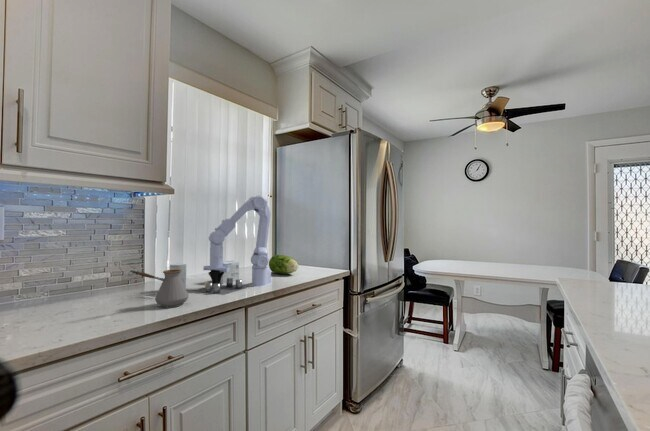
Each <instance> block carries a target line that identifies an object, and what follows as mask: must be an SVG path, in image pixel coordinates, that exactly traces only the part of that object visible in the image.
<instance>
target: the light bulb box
mask: <svg viewBox="0 0 650 431" xmlns="http://www.w3.org/2000/svg"><path fill="white" fill-rule="evenodd" d="M223 266H224V267H229V268H230V272H224V274H223V275H222V285H224V284H227V278H233V283H234V282H235V283H236V280H238V279H240V260H227V261H226V260H225V261H223Z"/></svg>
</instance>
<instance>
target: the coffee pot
mask: <svg viewBox="0 0 650 431" xmlns="http://www.w3.org/2000/svg"><path fill="white" fill-rule="evenodd" d="M181 271H182V270H170V269H166V270H164V271H162V273H163V274H164V277H160V276H155V275H152V274H149V273H146V272H142V271H141V272H140V271H139V270H138V271H135V270H130V271H129V272H128V273H127V276H128V277H132V276H133V274H135V275H139V276H141V277H145V278H149V279H154V280H158V281H162V283H161V285H160V287H159V288H158V292H157V293H156V296H155V298H154V301H155V302H156V304H158V305H159V306H160V307H161V308H175V307H180V306H183V304H184V303H185V302H186V301H188V299H189V296H190V295H189V293H188V291H187V288H186V289H185V286H184V284H183V282H182V280H181V278H180V272H181ZM130 273H131V275H129V274H130Z"/></svg>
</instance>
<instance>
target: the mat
mask: <svg viewBox="0 0 650 431" xmlns="http://www.w3.org/2000/svg"><path fill="white" fill-rule="evenodd" d="M245 289H247V287H242V289H236V286H233V287H230V288H227V285H224V284H222V286H220V293H218V294H217V295H219V296H220V295H221V296H225V295H228V294H231V293H235V292H239V291H242V290H245ZM193 292H199V293H206V289H205V287H203V288H198V289H195V290H193ZM206 294H207V293H206ZM209 294H212V295H215V294H214V293H213V292H210V293H209Z"/></svg>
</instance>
